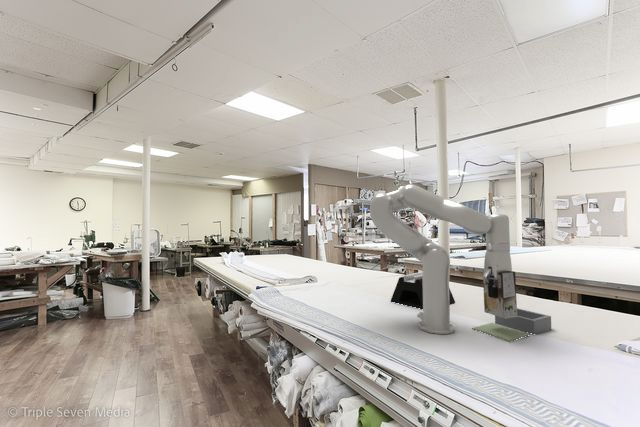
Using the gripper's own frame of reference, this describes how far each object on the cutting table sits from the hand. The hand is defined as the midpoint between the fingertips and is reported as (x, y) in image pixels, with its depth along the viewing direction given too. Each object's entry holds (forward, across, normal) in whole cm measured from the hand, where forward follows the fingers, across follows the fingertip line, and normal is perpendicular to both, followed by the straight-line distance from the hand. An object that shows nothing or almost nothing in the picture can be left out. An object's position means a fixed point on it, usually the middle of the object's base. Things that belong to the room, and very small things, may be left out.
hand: (499, 295), depth 112 cm
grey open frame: (+13, -14, 0) cm, 19 cm away
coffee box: (+7, 0, 0) cm, 7 cm away
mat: (+13, 0, 0) cm, 13 cm away
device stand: (+14, -7, -44) cm, 47 cm away
